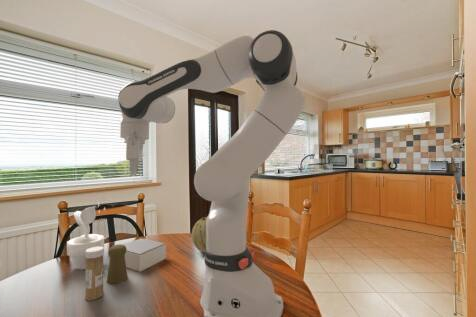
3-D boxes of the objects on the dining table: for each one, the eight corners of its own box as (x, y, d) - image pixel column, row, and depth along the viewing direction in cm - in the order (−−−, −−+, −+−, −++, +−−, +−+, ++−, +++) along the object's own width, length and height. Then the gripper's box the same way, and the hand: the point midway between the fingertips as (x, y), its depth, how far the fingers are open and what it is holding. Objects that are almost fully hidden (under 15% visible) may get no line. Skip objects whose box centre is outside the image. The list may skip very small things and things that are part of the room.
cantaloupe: (233, 249, 98) (232, 215, 98) (210, 261, 86) (209, 222, 86) (208, 242, 106) (208, 210, 107) (184, 252, 94) (184, 217, 95)
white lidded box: (165, 258, 89) (165, 243, 89) (139, 271, 78) (139, 254, 78) (141, 252, 95) (141, 238, 95) (114, 263, 85) (114, 247, 85)
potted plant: (110, 264, 84) (110, 197, 84) (73, 277, 75) (74, 201, 75) (95, 256, 91) (95, 194, 92) (60, 266, 82) (61, 198, 83)
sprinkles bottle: (104, 297, 63) (104, 249, 64) (85, 303, 61) (85, 253, 61) (103, 289, 67) (103, 244, 67) (84, 295, 64) (84, 248, 65)
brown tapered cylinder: (118, 285, 69) (119, 249, 70) (102, 283, 71) (102, 248, 71) (131, 276, 75) (131, 243, 75) (116, 274, 76) (116, 241, 77)
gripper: (144, 130, 67) (143, 176, 67) (145, 136, 86) (144, 172, 86) (121, 128, 65) (120, 176, 65) (127, 135, 84) (126, 172, 84)
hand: (134, 174), depth 76 cm, fingers open, 8 cm apart
